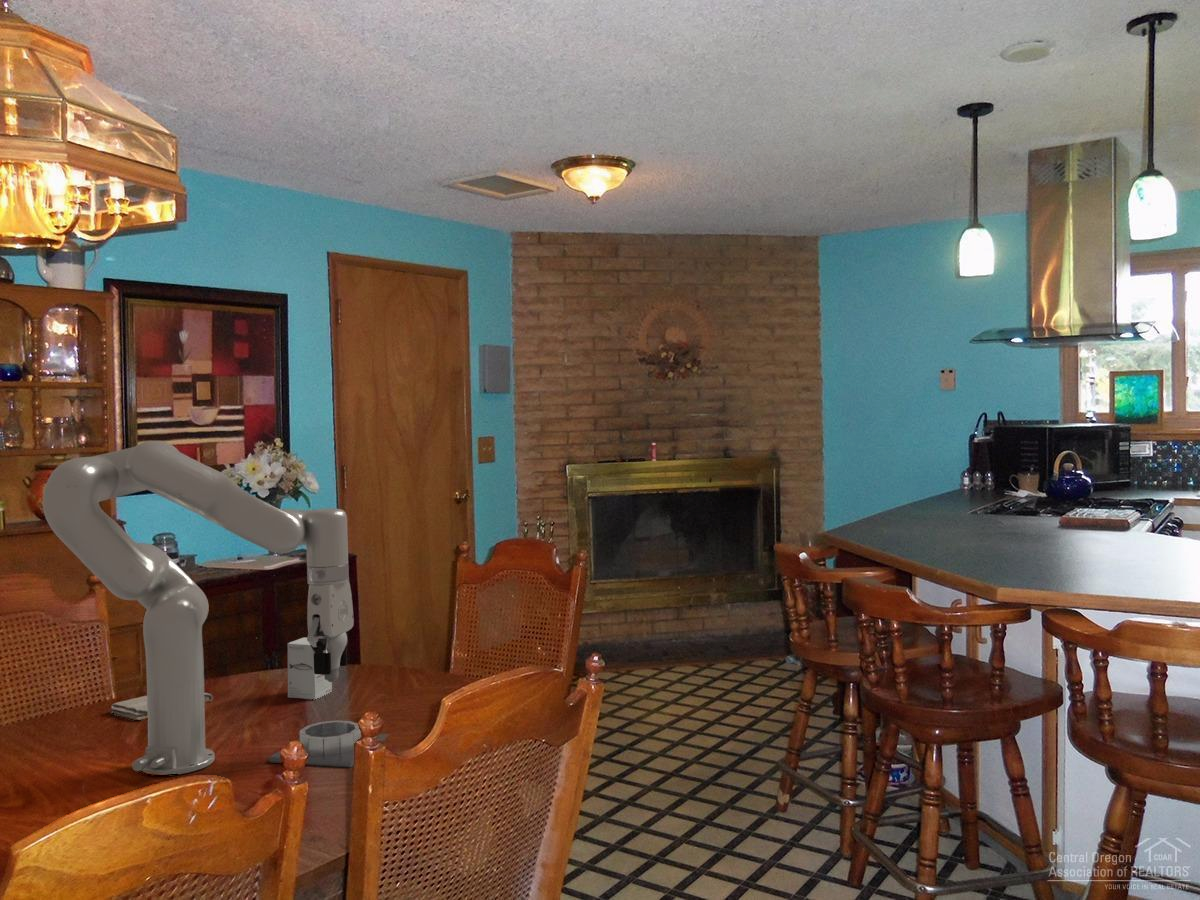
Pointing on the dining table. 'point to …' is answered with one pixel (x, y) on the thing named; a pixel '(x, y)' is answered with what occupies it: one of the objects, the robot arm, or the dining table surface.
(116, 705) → the washcloth
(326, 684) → the supplement box
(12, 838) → the dining table surface
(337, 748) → the duct collar
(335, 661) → the lightbulb
